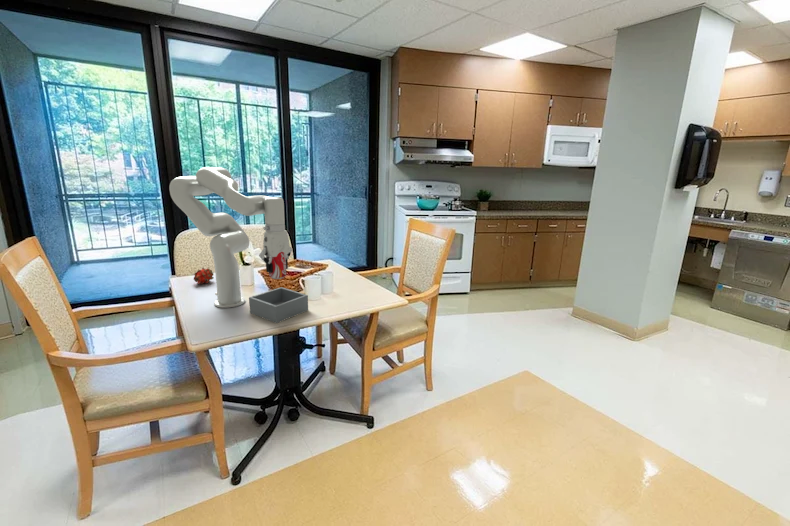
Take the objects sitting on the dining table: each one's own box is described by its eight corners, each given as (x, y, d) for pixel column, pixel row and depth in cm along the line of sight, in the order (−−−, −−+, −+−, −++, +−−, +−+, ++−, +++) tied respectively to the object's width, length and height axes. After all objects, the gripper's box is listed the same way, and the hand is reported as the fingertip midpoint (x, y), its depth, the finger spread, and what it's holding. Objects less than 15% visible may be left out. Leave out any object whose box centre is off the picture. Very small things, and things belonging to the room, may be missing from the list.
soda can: (281, 280, 149) (280, 251, 146) (265, 278, 150) (263, 250, 147) (289, 275, 156) (288, 248, 152) (274, 274, 157) (272, 246, 154)
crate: (250, 312, 154) (248, 297, 153) (282, 301, 168) (281, 287, 166) (276, 323, 145) (275, 306, 144) (308, 310, 159) (307, 295, 157)
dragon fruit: (214, 282, 196) (198, 292, 185) (201, 272, 195) (185, 282, 185) (220, 271, 192) (204, 281, 181) (207, 261, 192) (190, 270, 181)
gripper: (263, 232, 138) (265, 276, 143) (298, 226, 152) (299, 267, 157) (250, 229, 142) (253, 273, 147) (285, 224, 156) (287, 264, 161)
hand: (277, 269), depth 152 cm, fingers closed on soda can, 7 cm apart
